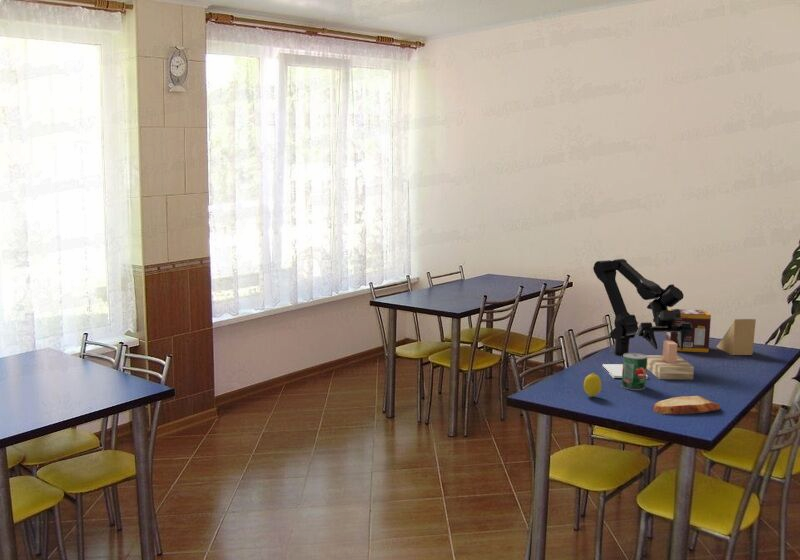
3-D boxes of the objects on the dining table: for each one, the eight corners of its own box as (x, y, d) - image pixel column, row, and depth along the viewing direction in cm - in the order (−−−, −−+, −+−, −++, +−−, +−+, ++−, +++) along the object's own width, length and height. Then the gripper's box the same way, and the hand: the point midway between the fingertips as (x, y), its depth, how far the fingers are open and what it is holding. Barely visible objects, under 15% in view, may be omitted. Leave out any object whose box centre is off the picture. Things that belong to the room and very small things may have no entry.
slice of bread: (649, 413, 240) (650, 401, 239) (663, 398, 255) (664, 387, 254) (711, 423, 230) (712, 411, 230) (722, 407, 246) (723, 396, 245)
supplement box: (664, 345, 327) (666, 308, 325) (702, 346, 325) (705, 309, 323) (669, 350, 317) (671, 313, 315) (708, 352, 315) (711, 314, 313)
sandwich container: (735, 346, 326) (738, 311, 324) (753, 356, 311) (756, 319, 308) (715, 346, 326) (717, 311, 323) (732, 356, 310) (734, 319, 308)
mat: (602, 366, 292) (602, 364, 292) (634, 367, 292) (634, 364, 292) (613, 378, 276) (613, 375, 276) (647, 378, 276) (647, 376, 276)
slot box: (645, 367, 292) (645, 355, 291) (677, 367, 292) (678, 355, 291) (659, 379, 276) (659, 366, 275) (693, 379, 276) (693, 366, 275)
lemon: (581, 394, 257) (582, 370, 256) (598, 394, 257) (599, 371, 256) (585, 399, 252) (586, 375, 250) (602, 399, 251) (603, 375, 250)
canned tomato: (644, 391, 261) (646, 359, 259) (620, 388, 264) (622, 357, 262) (646, 385, 268) (648, 353, 267) (622, 382, 271) (624, 351, 269)
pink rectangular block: (662, 365, 286) (663, 340, 285) (670, 365, 286) (671, 340, 285) (667, 369, 281) (669, 344, 279) (675, 369, 281) (677, 344, 279)
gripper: (641, 301, 286) (649, 337, 277) (692, 301, 286) (701, 337, 277) (633, 317, 295) (641, 353, 286) (683, 318, 295) (692, 353, 286)
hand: (669, 349), depth 284 cm, fingers open, 9 cm apart
